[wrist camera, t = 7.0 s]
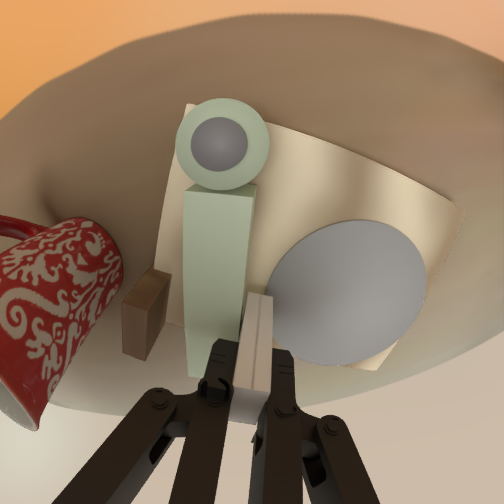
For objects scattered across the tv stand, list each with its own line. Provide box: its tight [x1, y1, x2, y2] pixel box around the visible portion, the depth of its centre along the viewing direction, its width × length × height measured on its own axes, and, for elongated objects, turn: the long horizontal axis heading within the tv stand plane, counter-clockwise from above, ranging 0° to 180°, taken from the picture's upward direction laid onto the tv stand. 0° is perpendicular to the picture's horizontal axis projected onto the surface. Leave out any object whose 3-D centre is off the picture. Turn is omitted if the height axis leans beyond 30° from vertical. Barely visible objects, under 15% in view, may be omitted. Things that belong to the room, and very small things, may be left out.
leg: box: [175, 98, 270, 379], centre depth 13 cm, size 15×4×4 cm, turn 174°
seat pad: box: [265, 220, 427, 366], centre depth 16 cm, size 11×11×1 cm
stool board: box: [122, 103, 467, 371], centre depth 15 cm, size 18×14×6 cm
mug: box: [0, 215, 123, 431], centre depth 12 cm, size 13×9×14 cm
